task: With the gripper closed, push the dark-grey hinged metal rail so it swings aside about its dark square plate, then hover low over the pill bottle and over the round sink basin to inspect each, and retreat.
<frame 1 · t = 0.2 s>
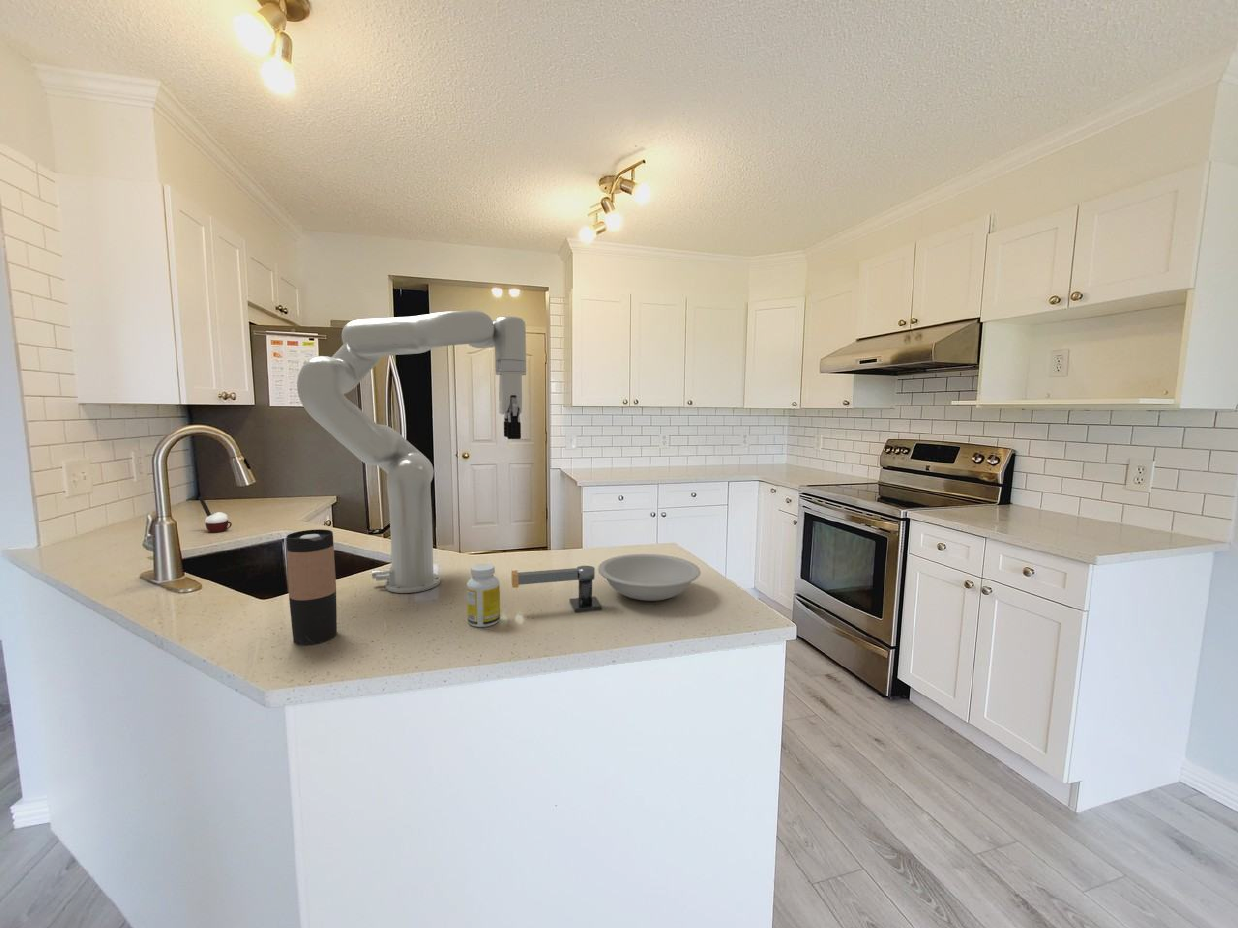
hand: (512, 437, 129), 36 cm above the countertop, tool pointing down, fingers open, 9 cm apart
travel mug: (315, 637, 98), on the countertop
round sink basin: (648, 595, 122), on the countertop
pill bottle: (483, 622, 106), on the countertop
dark square plate: (585, 605, 115), on the countertop
cocoa: (217, 532, 178), on the countertop
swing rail: (554, 575, 112), point 8 cm above the countertop, hinge at 0.0°
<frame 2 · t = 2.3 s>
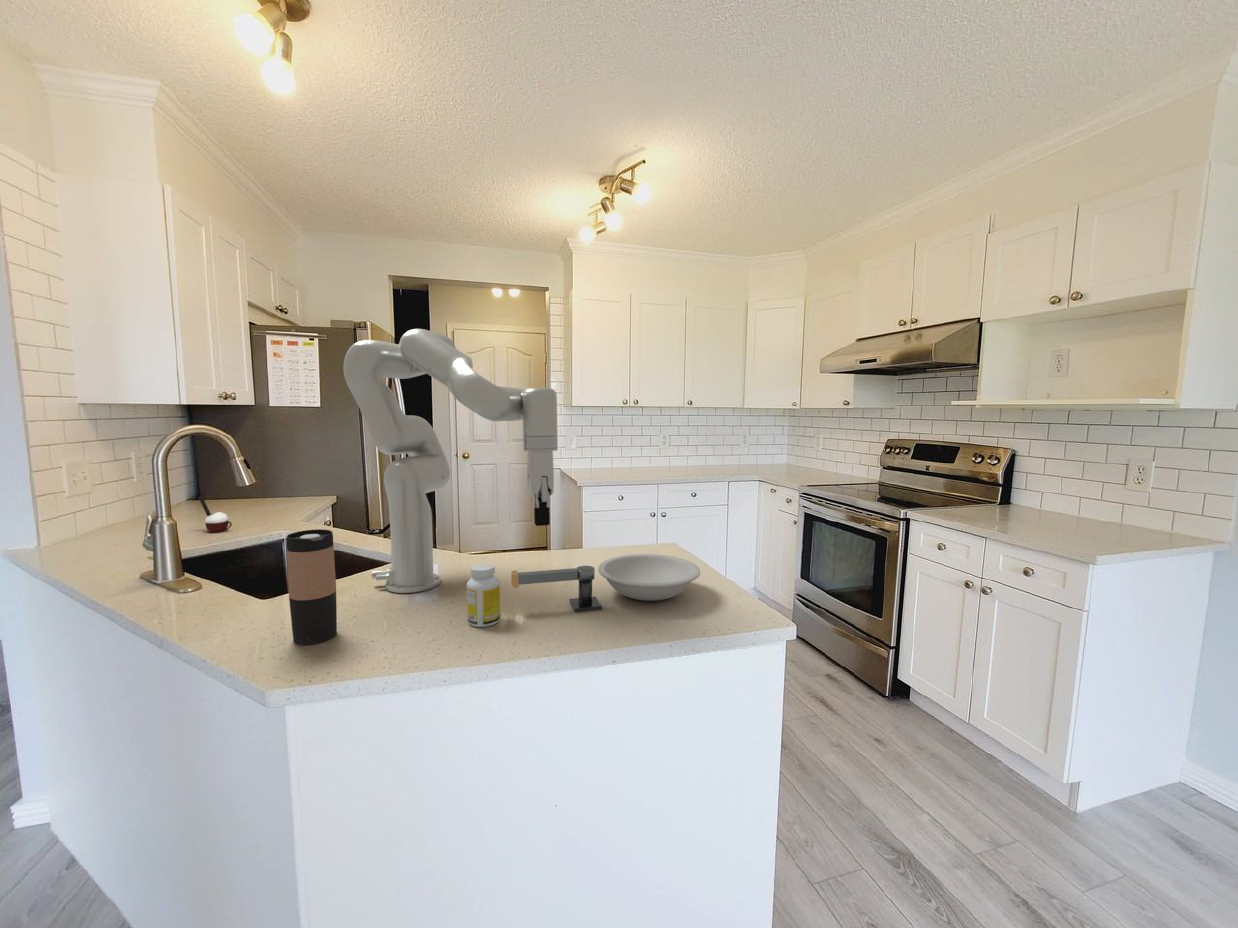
hand: (542, 524, 116), 18 cm above the countertop, tool pointing down, fingers closed
nothing on the countertop moved.
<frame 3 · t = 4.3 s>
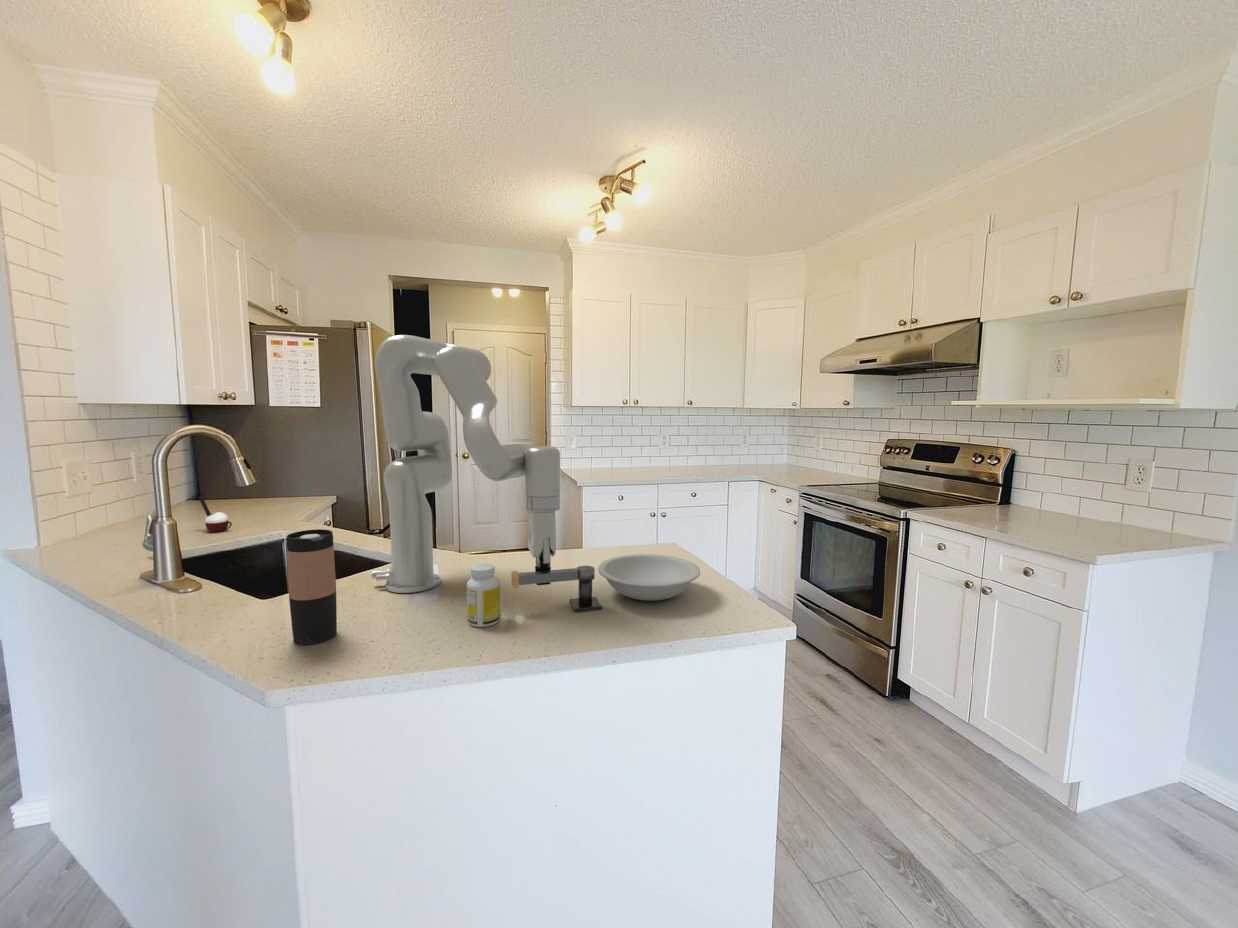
hand: (542, 583, 115), 5 cm above the countertop, tool pointing down, fingers closed
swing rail: (554, 575, 112), point 8 cm above the countertop, hinge at 1.1°, touching gripper
everything else where it was.
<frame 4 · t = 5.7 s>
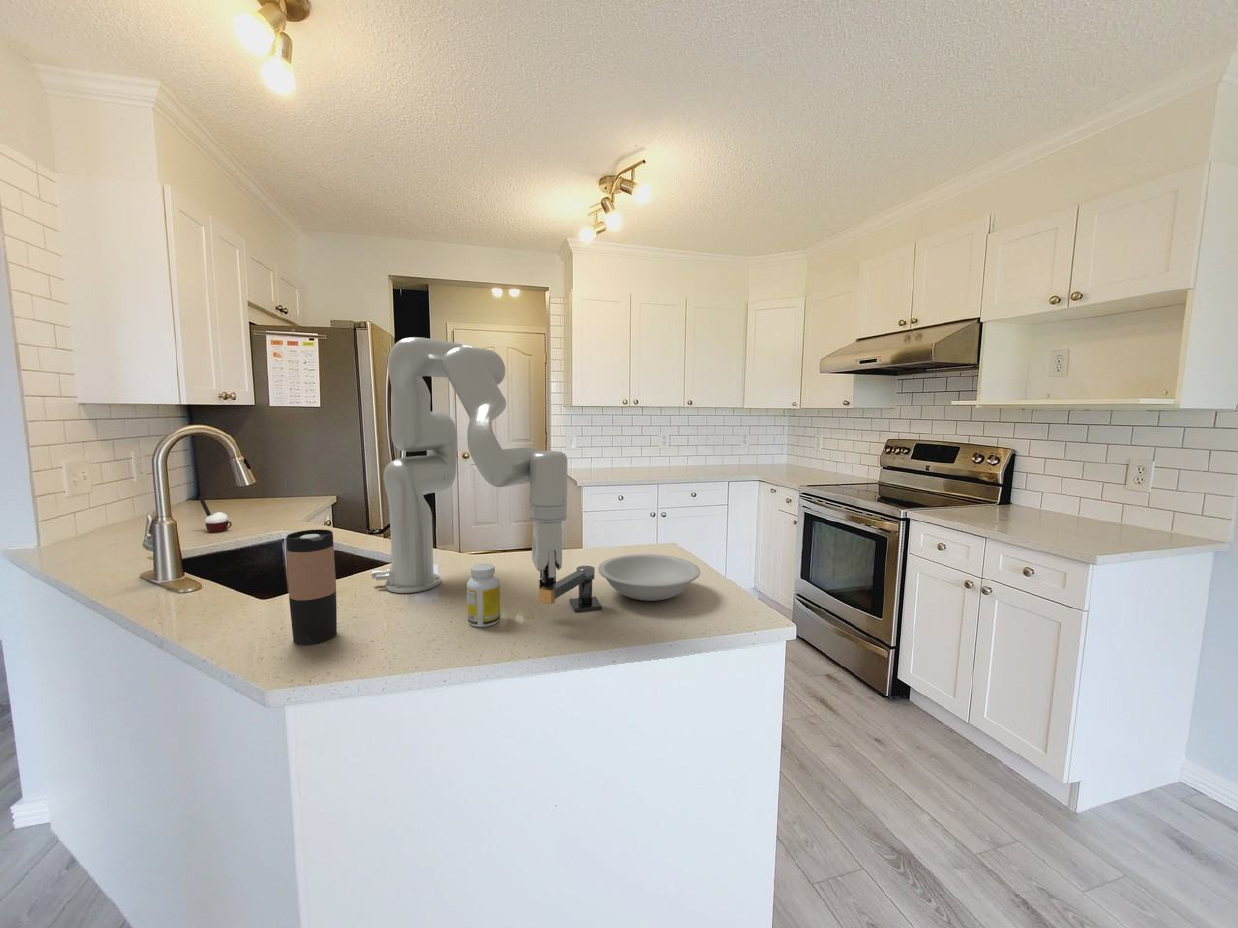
hand: (547, 598, 107), 4 cm above the countertop, tool pointing down, fingers closed
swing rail: (569, 582, 108), point 8 cm above the countertop, hinge at 48.1°, touching gripper
everything else where it was.
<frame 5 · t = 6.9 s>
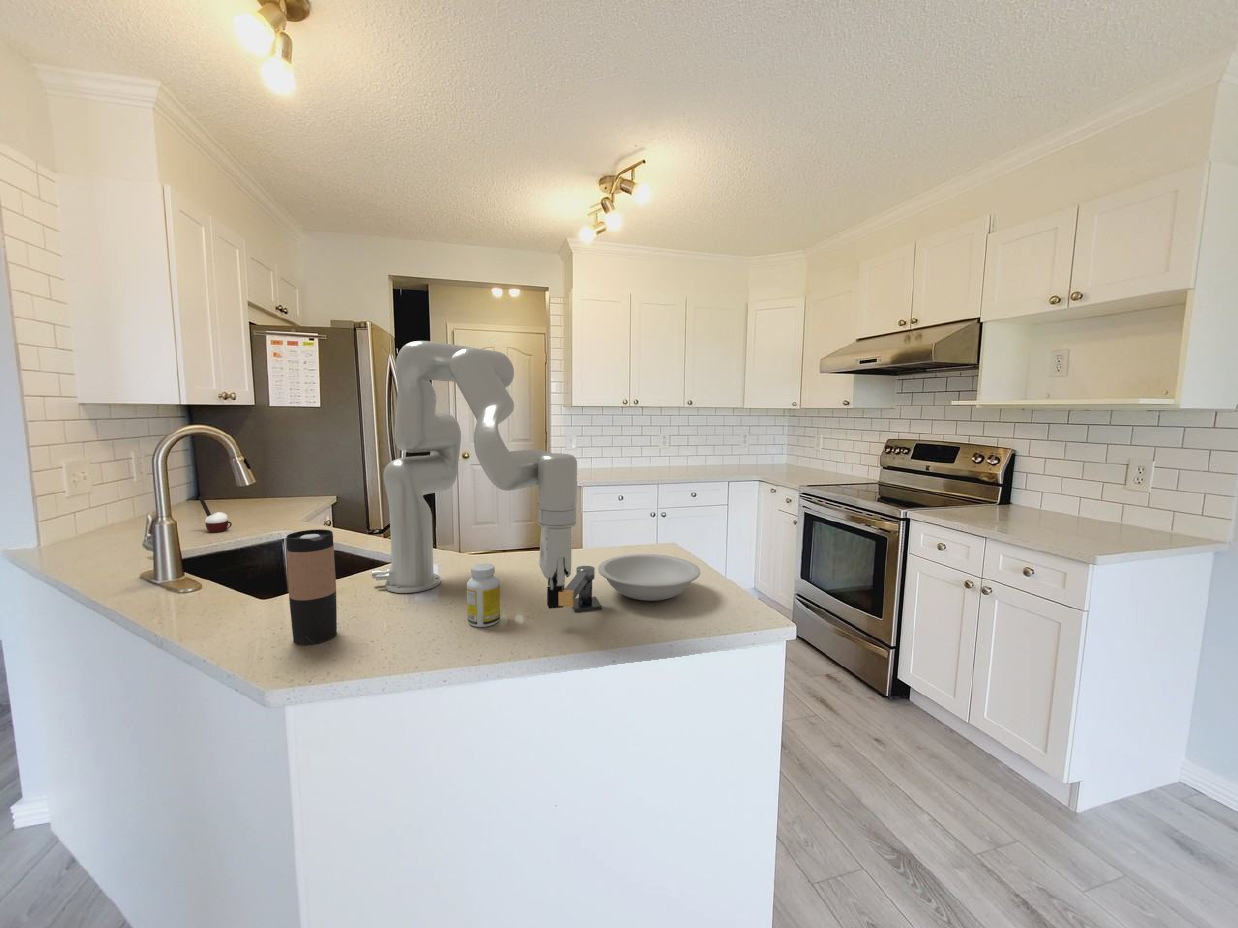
hand: (555, 606, 103), 4 cm above the countertop, tool pointing down, fingers closed
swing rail: (577, 583, 107), point 8 cm above the countertop, hinge at 63.6°, touching gripper
everything else where it was.
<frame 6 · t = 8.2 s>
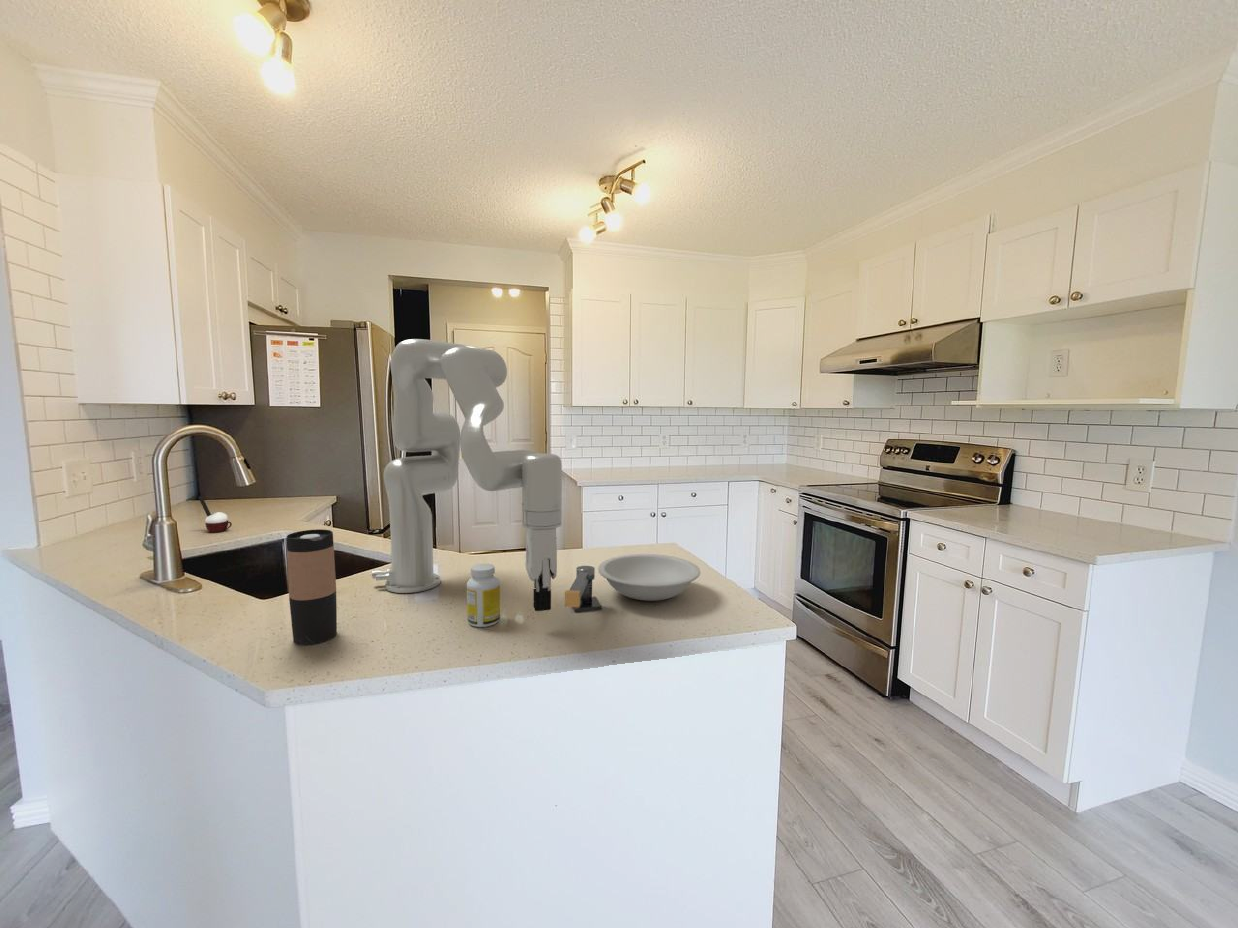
hand: (542, 608, 101), 4 cm above the countertop, tool pointing down, fingers closed
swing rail: (580, 583, 107), point 8 cm above the countertop, hinge at 68.1°
everything else where it was.
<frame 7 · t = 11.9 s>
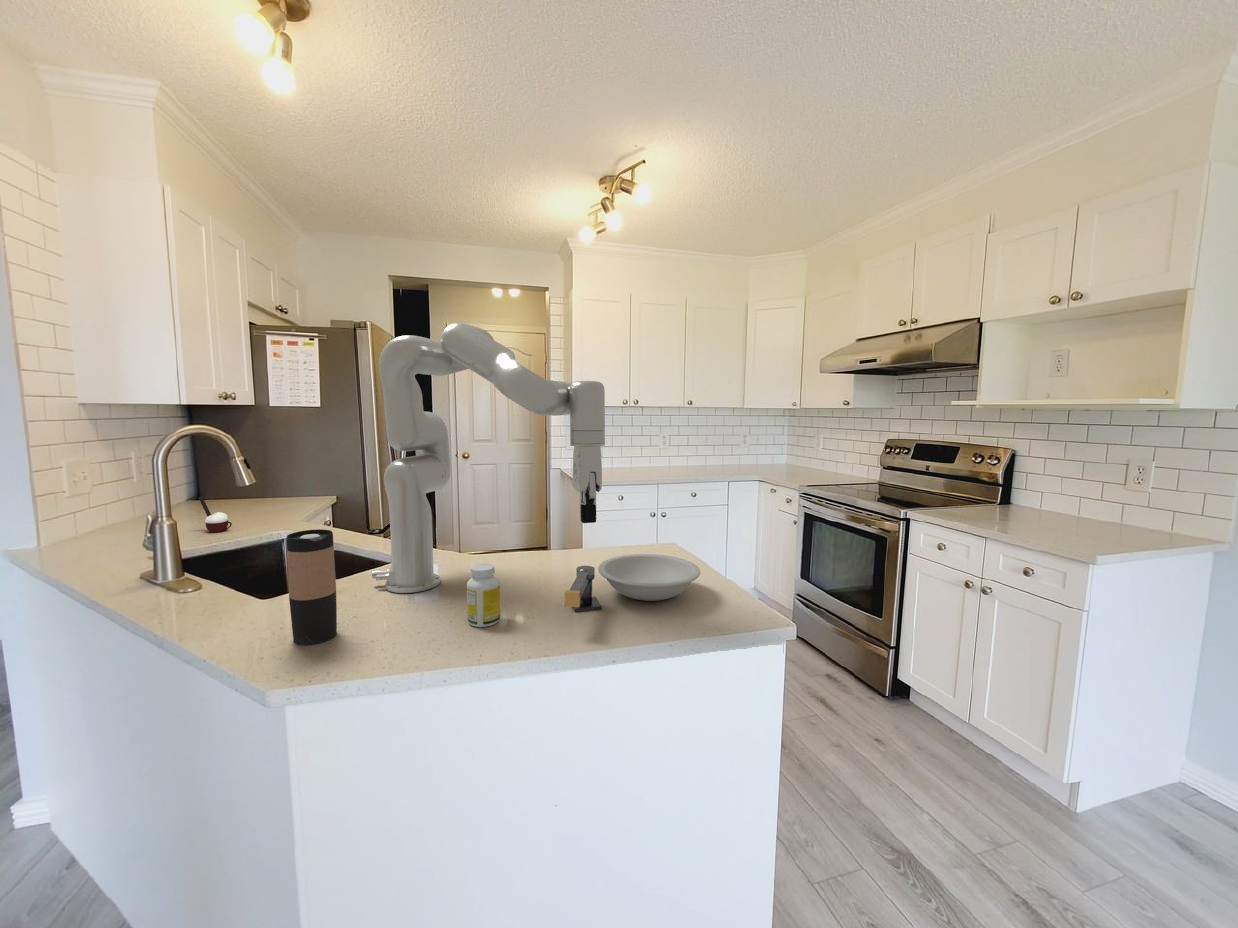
hand: (588, 521, 113), 19 cm above the countertop, tool pointing down, fingers closed
nothing on the countertop moved.
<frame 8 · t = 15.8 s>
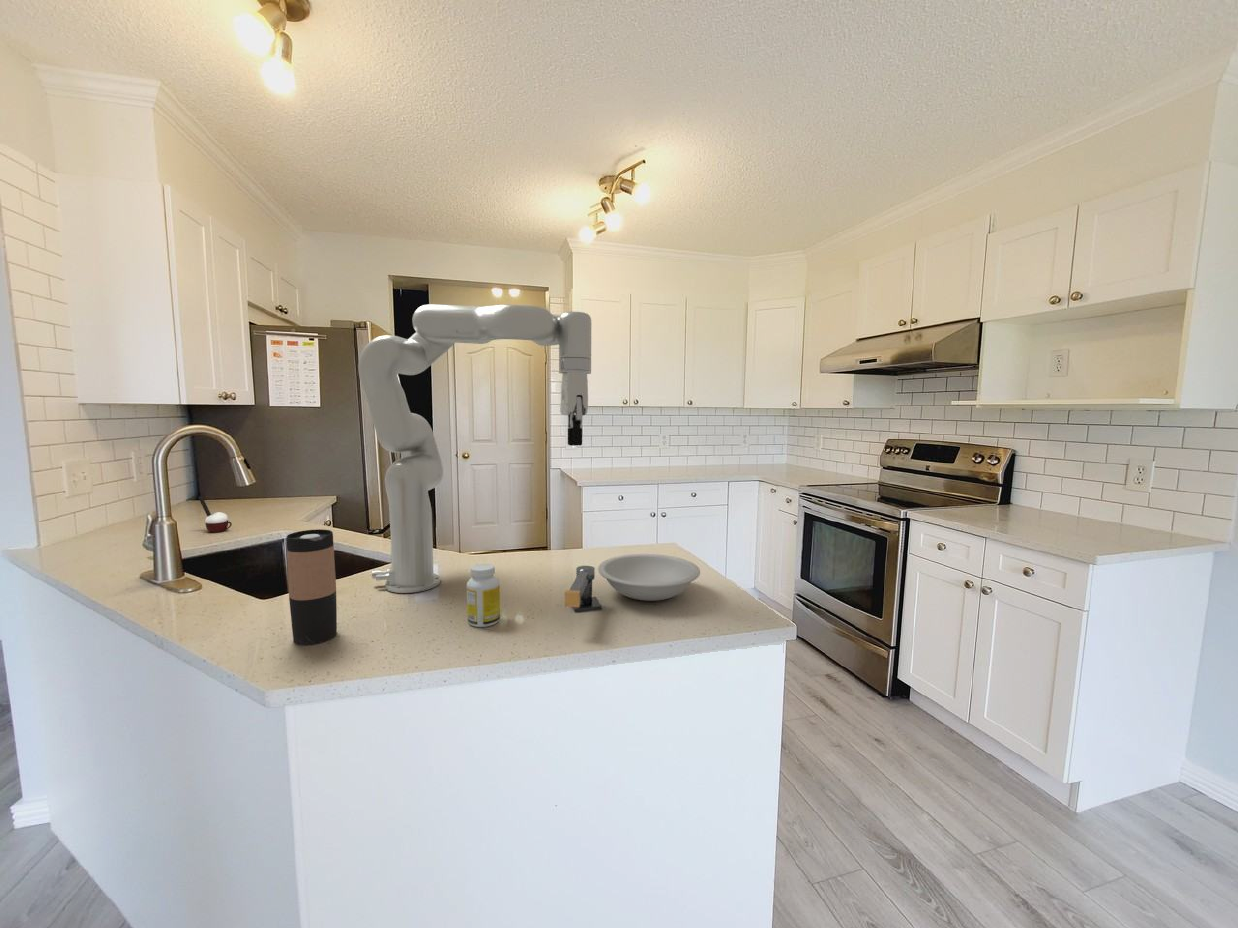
hand: (574, 445, 122), 35 cm above the countertop, tool pointing down, fingers closed
nothing on the countertop moved.
at the end: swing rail at +68° (first picture: +0°); pill bottle moved 0.2 cm from its start; round sink basin moved 0.3 cm from its start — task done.
